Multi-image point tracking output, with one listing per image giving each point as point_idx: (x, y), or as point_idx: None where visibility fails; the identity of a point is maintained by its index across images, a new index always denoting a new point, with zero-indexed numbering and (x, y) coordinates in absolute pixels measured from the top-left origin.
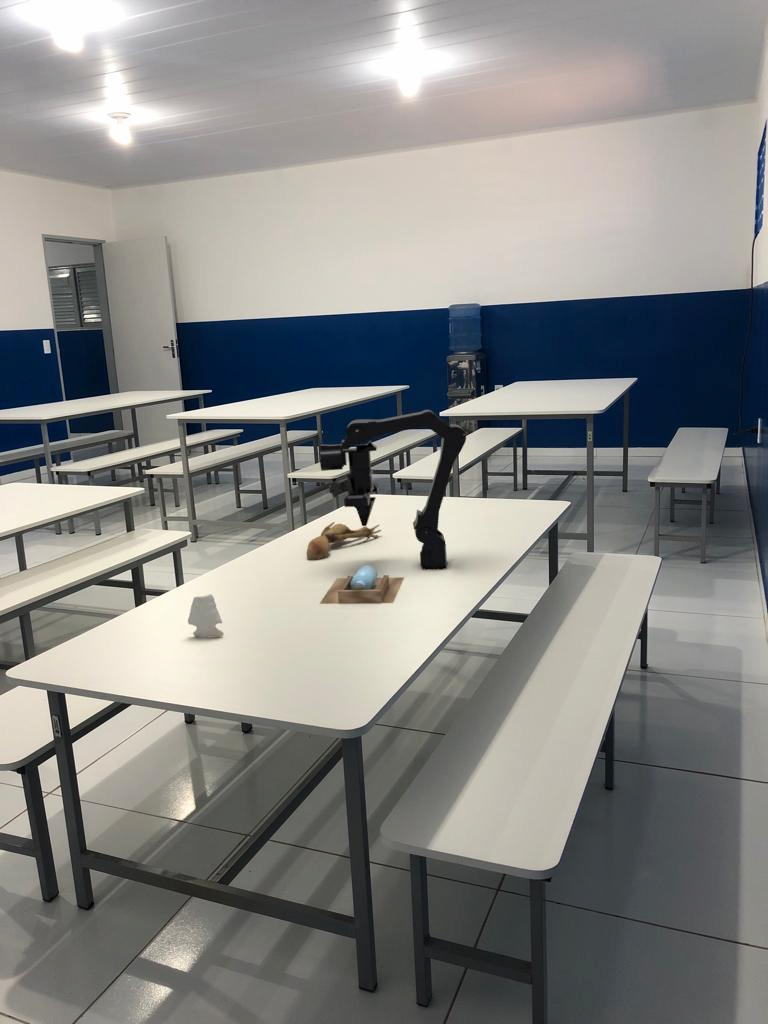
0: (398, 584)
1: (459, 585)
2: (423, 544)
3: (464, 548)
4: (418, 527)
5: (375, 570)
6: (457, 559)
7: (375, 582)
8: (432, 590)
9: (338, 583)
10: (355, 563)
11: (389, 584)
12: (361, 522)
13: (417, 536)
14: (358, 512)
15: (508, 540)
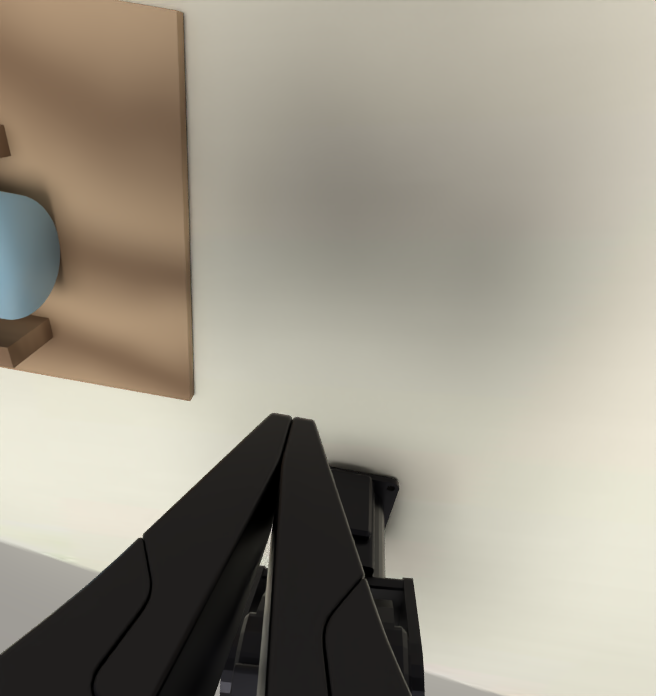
0: (86, 373)
1: (129, 529)
2: (369, 568)
3: (575, 601)
4: (231, 690)
5: (5, 318)
6: (433, 566)
7: (104, 278)
8: (67, 463)
9: (60, 36)
10: (583, 143)
11: (81, 339)
12: (243, 442)
13: (245, 618)
14: (76, 604)
15: (597, 688)
